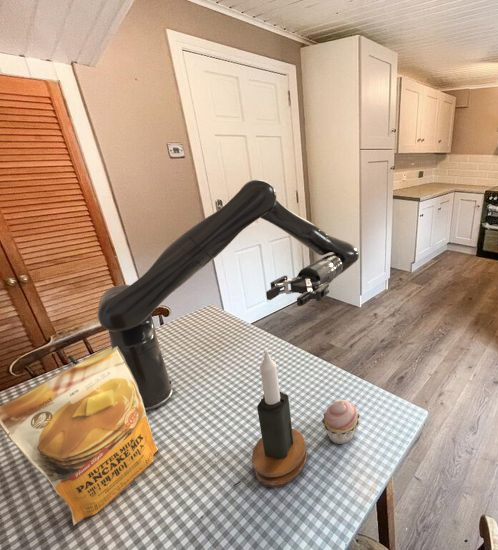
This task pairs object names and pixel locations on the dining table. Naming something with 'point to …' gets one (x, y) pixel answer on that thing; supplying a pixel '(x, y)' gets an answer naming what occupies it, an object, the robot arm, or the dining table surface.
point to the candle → (274, 413)
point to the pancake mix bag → (84, 431)
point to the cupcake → (341, 421)
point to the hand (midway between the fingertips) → (282, 299)
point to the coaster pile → (280, 463)
